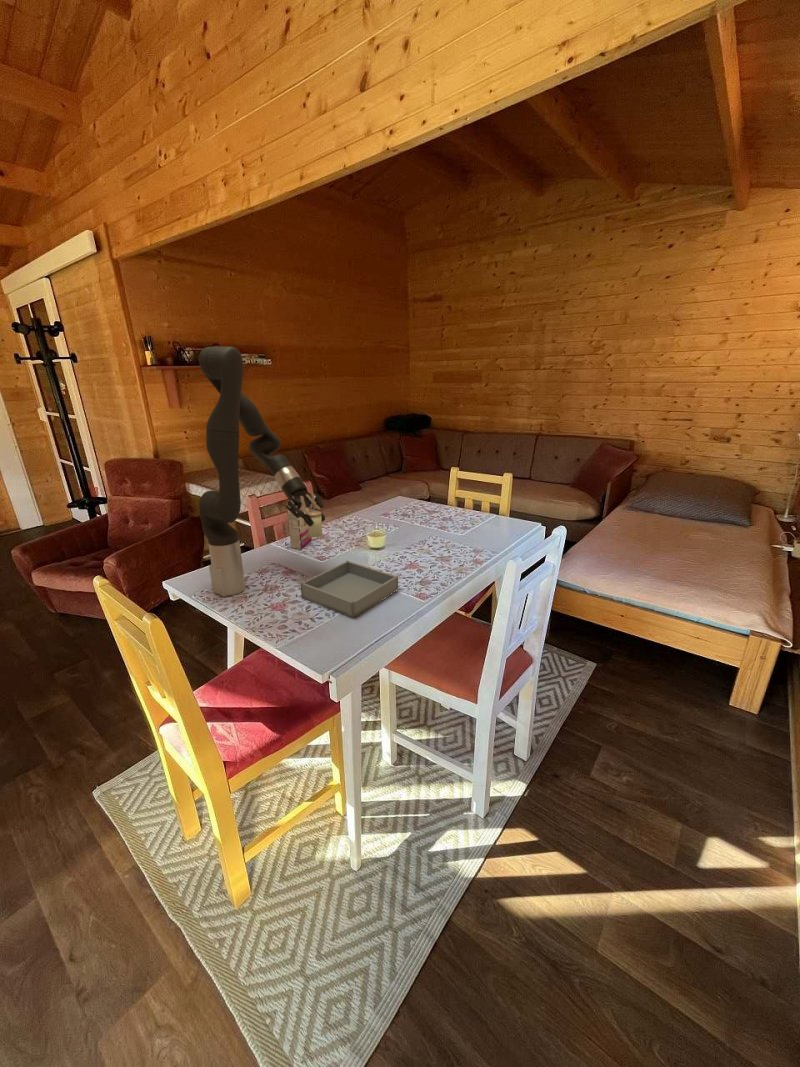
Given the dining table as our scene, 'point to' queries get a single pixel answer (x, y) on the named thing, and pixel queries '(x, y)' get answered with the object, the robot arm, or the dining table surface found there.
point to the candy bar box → (298, 531)
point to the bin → (349, 588)
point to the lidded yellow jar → (315, 524)
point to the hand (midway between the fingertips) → (317, 522)
